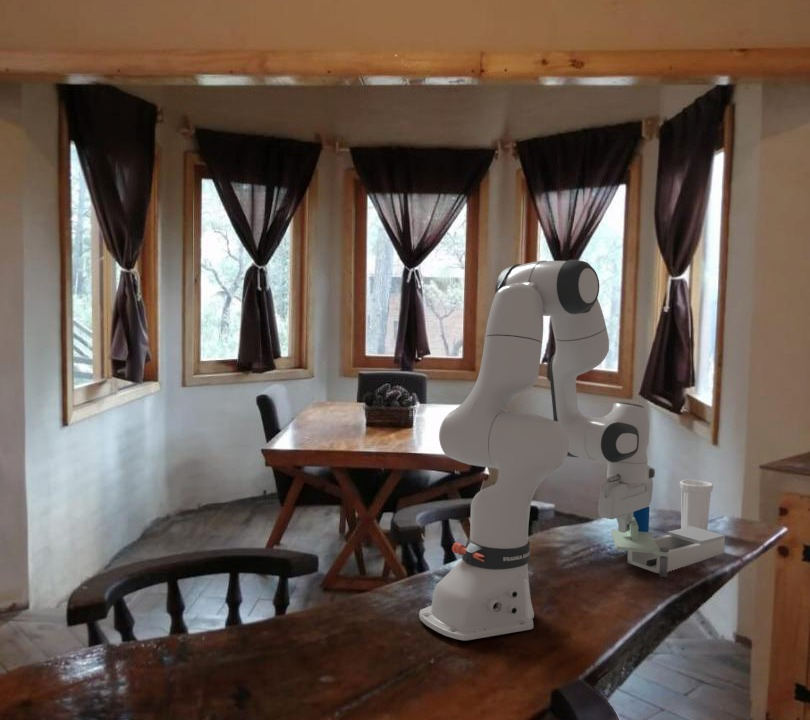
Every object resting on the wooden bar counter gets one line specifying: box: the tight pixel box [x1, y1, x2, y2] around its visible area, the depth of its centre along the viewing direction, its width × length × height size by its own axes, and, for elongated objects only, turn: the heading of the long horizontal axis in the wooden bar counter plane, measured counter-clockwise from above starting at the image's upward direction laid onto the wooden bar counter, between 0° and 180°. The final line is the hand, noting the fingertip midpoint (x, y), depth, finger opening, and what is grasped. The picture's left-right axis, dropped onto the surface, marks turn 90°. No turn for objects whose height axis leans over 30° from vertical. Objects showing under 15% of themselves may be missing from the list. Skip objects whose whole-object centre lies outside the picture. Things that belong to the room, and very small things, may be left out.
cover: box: [611, 517, 669, 556], centre depth 169 cm, size 16×11×4 cm
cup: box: [679, 479, 714, 530], centre depth 192 cm, size 8×8×14 cm
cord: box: [646, 558, 657, 566], centre depth 173 cm, size 23×1×1 cm, turn 125°
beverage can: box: [633, 505, 650, 532], centre depth 180 cm, size 6×6×12 cm
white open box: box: [627, 526, 726, 578], centre depth 172 cm, size 25×11×5 cm, turn 125°
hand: (624, 531), depth 172 cm, fingers closed
